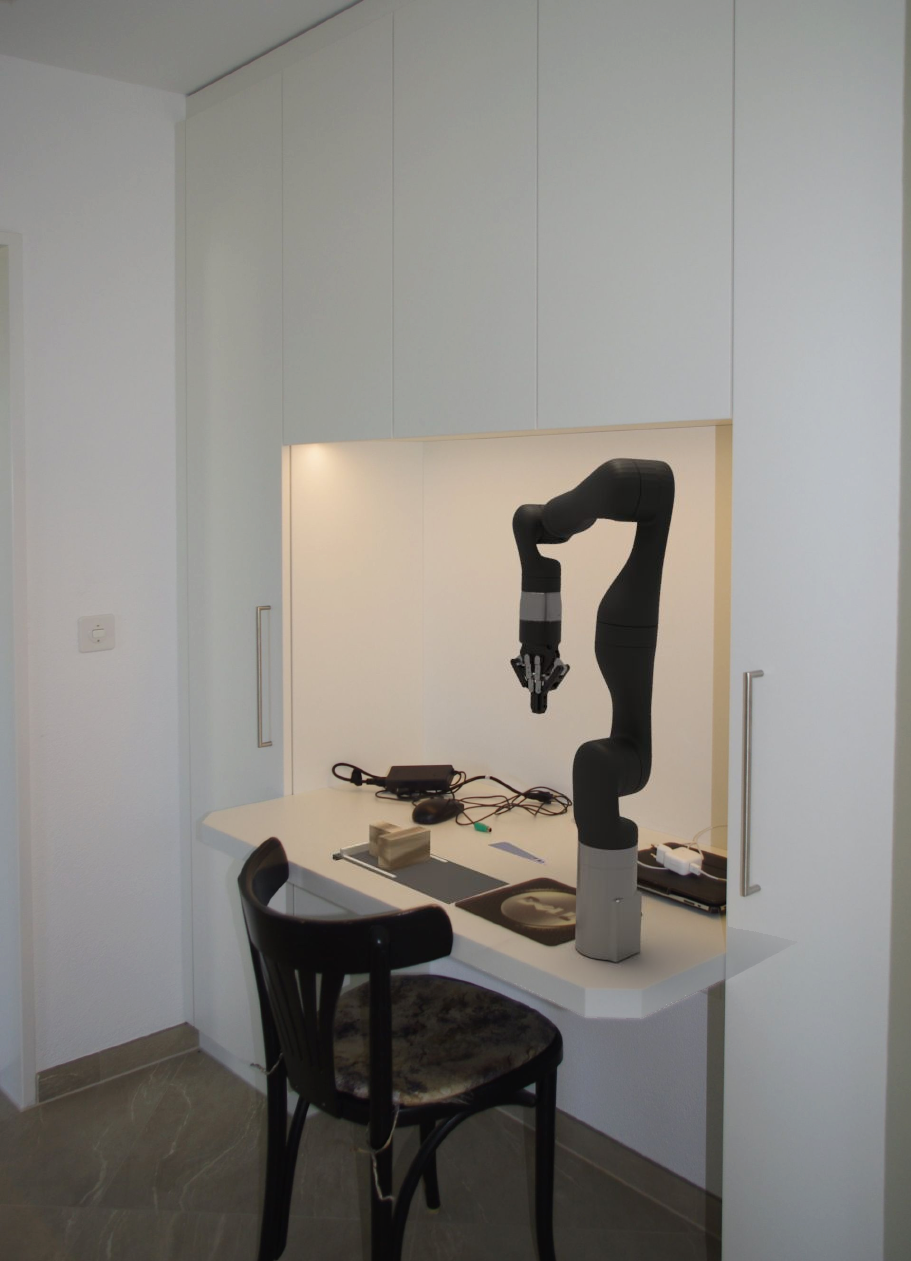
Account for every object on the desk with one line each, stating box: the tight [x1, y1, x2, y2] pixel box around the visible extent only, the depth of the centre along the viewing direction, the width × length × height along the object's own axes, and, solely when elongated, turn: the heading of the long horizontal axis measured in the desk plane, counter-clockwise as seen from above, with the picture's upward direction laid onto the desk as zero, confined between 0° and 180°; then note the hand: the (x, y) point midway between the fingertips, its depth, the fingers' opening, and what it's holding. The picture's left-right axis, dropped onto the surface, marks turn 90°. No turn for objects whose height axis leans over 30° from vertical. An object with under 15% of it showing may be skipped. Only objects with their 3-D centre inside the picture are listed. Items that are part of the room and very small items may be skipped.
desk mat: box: [332, 840, 510, 905], centre depth 188 cm, size 34×15×2 cm, turn 43°
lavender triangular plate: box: [488, 841, 547, 866], centre depth 198 cm, size 8×1×15 cm
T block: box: [368, 820, 431, 872], centre depth 193 cm, size 10×10×6 cm
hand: (538, 713), depth 179 cm, fingers closed
